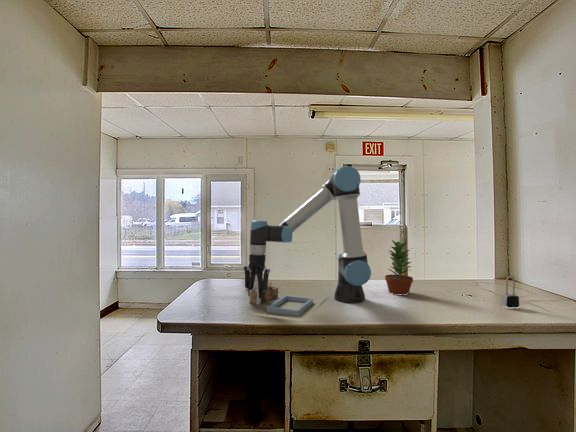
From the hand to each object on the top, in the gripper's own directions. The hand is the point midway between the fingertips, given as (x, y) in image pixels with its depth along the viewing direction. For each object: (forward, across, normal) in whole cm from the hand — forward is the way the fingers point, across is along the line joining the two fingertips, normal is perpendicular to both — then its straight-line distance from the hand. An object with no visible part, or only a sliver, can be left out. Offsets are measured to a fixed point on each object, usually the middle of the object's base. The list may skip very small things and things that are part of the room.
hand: (255, 304), depth 145 cm
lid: (0, +1, +8) cm, 8 cm away
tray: (0, +17, +3) cm, 17 cm away
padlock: (-4, +104, +58) cm, 119 cm away
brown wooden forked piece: (-1, 0, +6) cm, 6 cm away
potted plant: (-2, +54, +60) cm, 81 cm away
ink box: (+1, -17, +23) cm, 28 cm away
